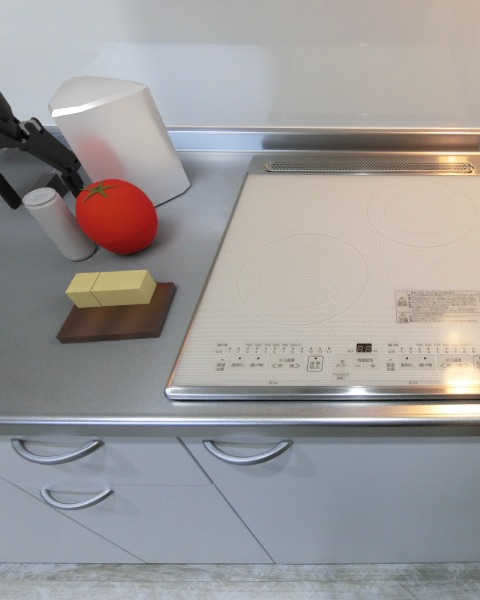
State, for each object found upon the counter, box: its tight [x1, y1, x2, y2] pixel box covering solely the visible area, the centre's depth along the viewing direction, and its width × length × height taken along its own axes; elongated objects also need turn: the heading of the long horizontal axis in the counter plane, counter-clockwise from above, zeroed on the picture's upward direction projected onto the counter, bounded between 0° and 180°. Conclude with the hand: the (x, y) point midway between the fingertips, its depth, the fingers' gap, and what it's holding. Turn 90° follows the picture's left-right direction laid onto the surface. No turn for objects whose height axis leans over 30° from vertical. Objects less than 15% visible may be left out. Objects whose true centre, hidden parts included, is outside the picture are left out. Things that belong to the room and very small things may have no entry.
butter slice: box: [65, 271, 102, 308], centre depth 66 cm, size 4×4×4 cm
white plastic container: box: [47, 75, 191, 207], centre depth 79 cm, size 15×14×22 cm
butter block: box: [91, 269, 157, 306], centre depth 67 cm, size 7×4×4 cm, turn 94°
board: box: [55, 281, 177, 344], centre depth 67 cm, size 14×10×2 cm
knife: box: [21, 166, 69, 207], centre depth 87 cm, size 17×3×4 cm, turn 4°
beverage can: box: [22, 188, 96, 262], centre depth 72 cm, size 5×5×12 cm
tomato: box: [74, 179, 159, 255], centre depth 73 cm, size 11×11×13 cm
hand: (51, 202), depth 86 cm, fingers open, 12 cm apart
